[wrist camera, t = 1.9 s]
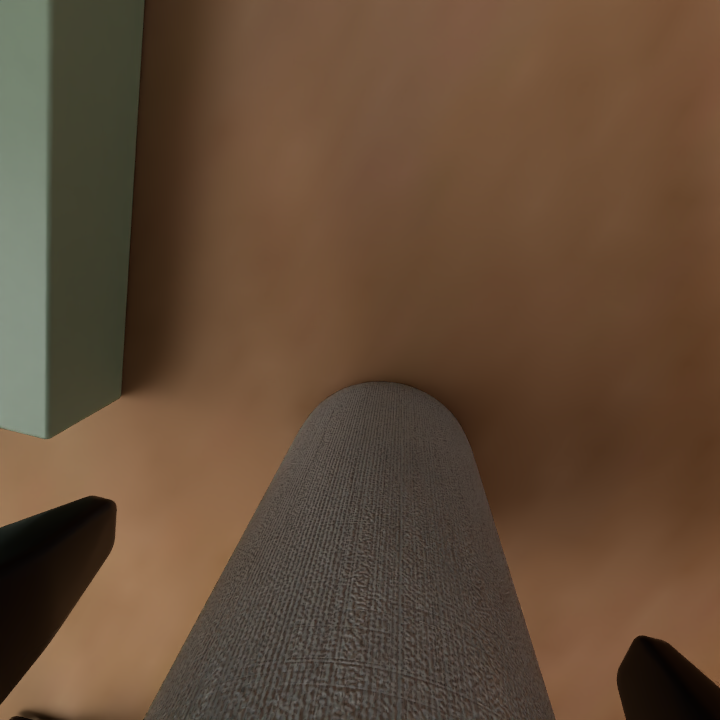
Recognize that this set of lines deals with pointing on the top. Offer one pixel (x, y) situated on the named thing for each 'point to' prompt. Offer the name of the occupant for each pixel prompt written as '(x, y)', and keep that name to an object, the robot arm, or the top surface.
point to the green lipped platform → (65, 205)
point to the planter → (364, 583)
